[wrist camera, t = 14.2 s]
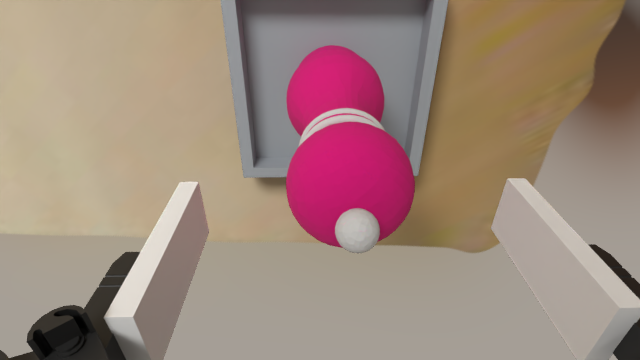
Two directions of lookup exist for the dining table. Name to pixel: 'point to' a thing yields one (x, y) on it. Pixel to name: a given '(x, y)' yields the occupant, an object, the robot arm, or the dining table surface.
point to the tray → (318, 31)
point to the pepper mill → (344, 153)
